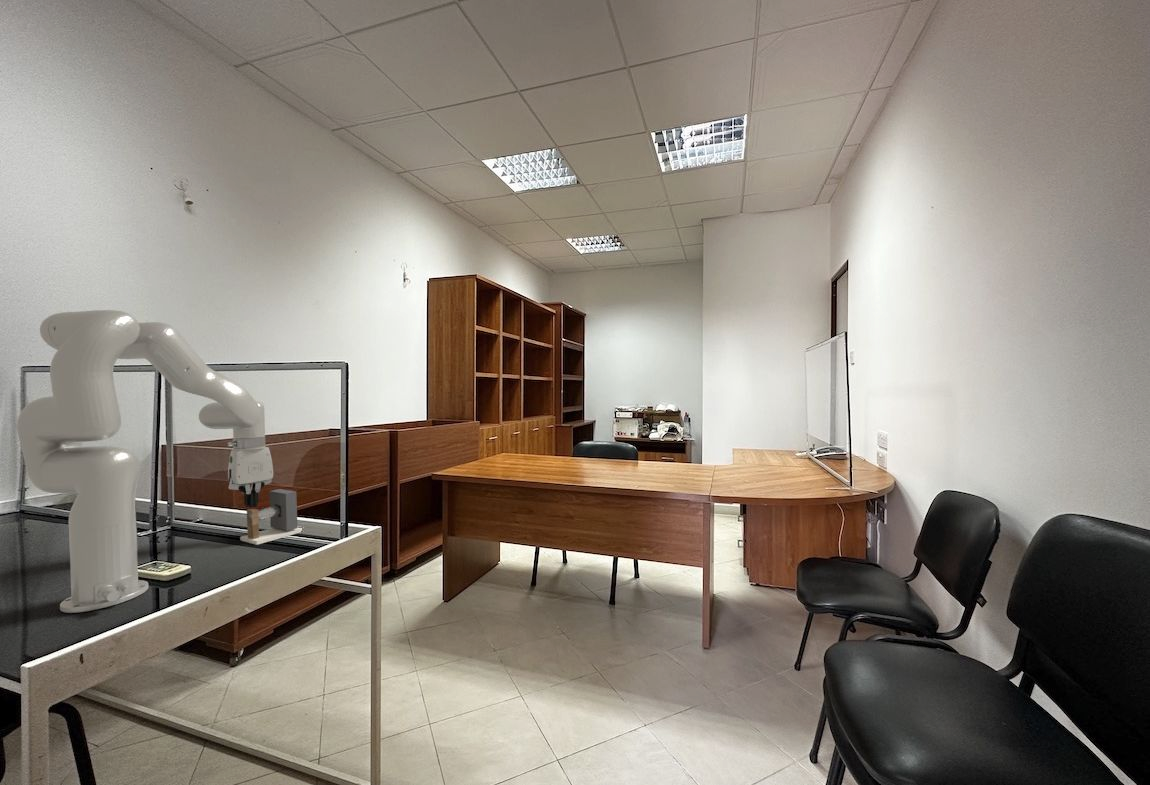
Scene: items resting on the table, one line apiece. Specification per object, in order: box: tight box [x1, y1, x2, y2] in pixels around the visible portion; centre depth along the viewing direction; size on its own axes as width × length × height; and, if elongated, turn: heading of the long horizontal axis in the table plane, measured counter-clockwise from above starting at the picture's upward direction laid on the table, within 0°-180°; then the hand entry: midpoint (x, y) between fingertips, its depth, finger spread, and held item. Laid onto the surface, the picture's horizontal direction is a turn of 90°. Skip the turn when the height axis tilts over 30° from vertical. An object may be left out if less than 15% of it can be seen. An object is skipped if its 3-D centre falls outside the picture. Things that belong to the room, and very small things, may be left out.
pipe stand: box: [240, 505, 302, 546], centre depth 131 cm, size 9×13×9 cm
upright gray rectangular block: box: [268, 488, 299, 531], centre depth 134 cm, size 9×3×11 cm, turn 61°
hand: (251, 506), depth 130 cm, fingers closed
